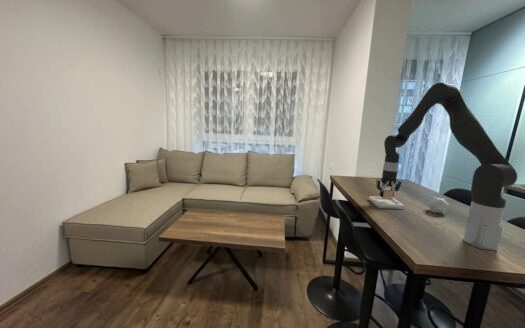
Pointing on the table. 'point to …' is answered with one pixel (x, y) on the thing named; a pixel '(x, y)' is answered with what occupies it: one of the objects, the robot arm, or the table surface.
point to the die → (438, 205)
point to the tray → (386, 203)
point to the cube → (388, 194)
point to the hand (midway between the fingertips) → (386, 197)
